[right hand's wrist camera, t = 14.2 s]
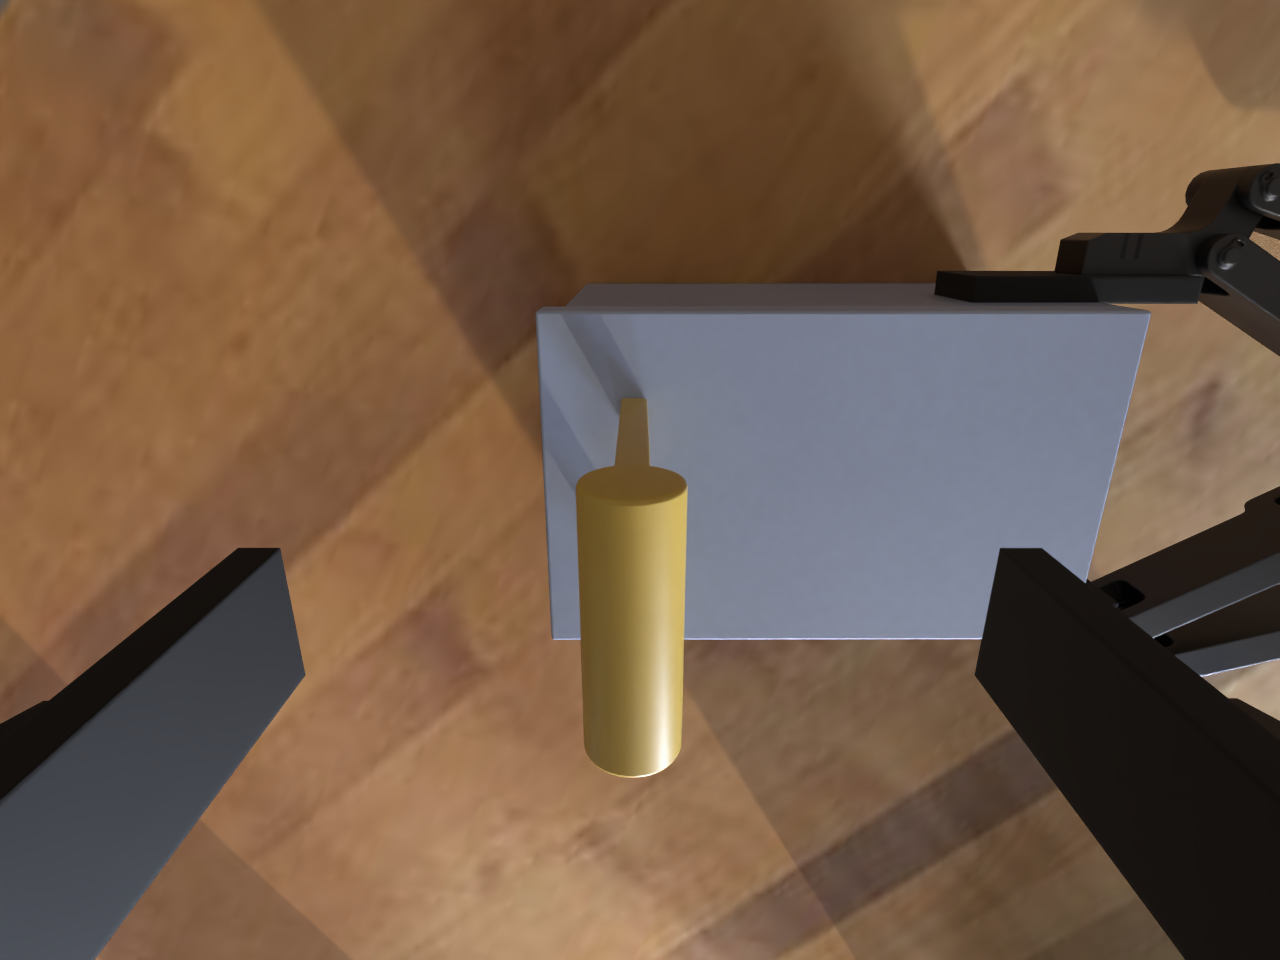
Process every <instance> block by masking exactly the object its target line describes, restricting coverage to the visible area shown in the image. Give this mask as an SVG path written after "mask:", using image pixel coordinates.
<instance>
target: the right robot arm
mask: <svg viewBox="0 0 1280 960" xmlns="http://www.w3.org/2000/svg"><path fill="white" fill-rule="evenodd" d="M304 676H305V671H304V666H303V661H302V656H301V651H300V646H299V641H298V636H297V630H296V625H295V620H294V615H293V610H292V605H291V600H290V595H289V590H288V585H287V580H286V575H285V570H284V565H283V560H282V555H281V550H280V548H237V549H236V550H235V551H234V552H233V553H231V554H230V555H229V556H228V557H226V558H225V559H224V560H223V561H221V562H220V563H219V564H218V565H216V566H215V567H214V568H213V569H211V570H210V571H209V572H208V573H207V574H205V575H204V576H203V577H202V578H200V579H199V580H198V581H197V582H195V583H194V584H193V585H192V586H190V587H189V588H188V589H187V590H185V591H184V592H183V593H182V594H181V595H179V596H178V597H177V598H176V599H174V600H173V601H172V602H171V603H169V604H168V605H167V606H166V607H164V608H163V609H162V610H161V611H160V612H158V613H157V614H156V615H155V616H153V617H152V618H151V619H150V620H148V621H147V622H146V623H145V624H143V625H142V626H141V627H140V628H138V629H137V630H136V631H135V632H134V633H132V634H131V635H130V636H129V637H127V638H126V639H125V640H124V641H122V642H121V643H120V644H119V645H117V646H116V647H115V648H114V649H112V650H111V651H110V652H109V653H108V654H106V655H105V656H104V657H103V658H101V659H100V660H99V661H98V662H96V663H95V664H94V665H93V666H91V667H90V668H89V669H88V670H87V671H85V672H84V673H83V674H82V675H80V676H79V677H78V678H77V679H75V680H74V681H73V682H72V683H70V684H69V685H68V686H67V687H65V688H64V689H63V690H62V691H61V692H59V693H58V694H57V695H56V696H54V697H53V698H52V699H51V700H49V701H42V702H41V703H39V704H37V705H35V706H33V707H31V708H29V709H27V710H26V711H24V712H22V713H20V714H18V715H16V716H14V717H12V718H11V719H9V720H7V721H5V722H3V723H1V724H0V960H95V958H96V957H97V956H98V954H99V953H100V952H101V950H102V949H103V948H104V946H105V945H106V944H107V942H108V941H109V940H110V938H111V937H112V936H113V934H114V933H115V931H116V930H117V929H118V927H119V926H120V925H121V923H122V922H123V921H124V919H125V918H126V917H127V915H128V914H129V913H130V911H131V910H132V909H133V907H134V906H135V904H136V903H137V902H138V900H139V899H140V898H141V896H142V895H143V894H144V892H145V891H146V890H147V888H148V887H149V886H150V884H151V883H152V881H153V880H154V879H155V877H156V876H157V875H158V873H159V872H160V871H161V869H162V868H163V867H164V865H165V864H166V863H167V861H168V860H169V859H170V857H171V856H172V854H173V853H174V852H175V850H176V849H177V848H178V846H179V845H180V844H181V842H182V841H183V840H184V838H185V837H186V836H187V834H188V833H189V832H190V830H191V829H192V827H193V826H194V825H195V823H196V822H197V821H198V819H199V818H200V817H201V815H202V814H203V813H204V811H205V810H206V809H207V807H208V806H209V805H210V803H211V802H212V800H213V799H214V798H215V796H216V795H217V794H218V792H219V791H220V790H221V788H222V787H223V786H224V784H225V783H226V782H227V780H228V779H229V778H230V776H231V775H232V773H233V772H234V771H235V769H236V768H237V767H238V765H239V764H240V763H241V761H242V760H243V759H244V757H245V756H246V755H247V753H248V752H249V751H250V749H251V748H252V746H253V745H254V744H255V742H256V741H257V740H258V738H259V737H260V736H261V734H262V733H263V732H264V730H265V729H266V728H267V726H268V725H269V724H270V722H271V721H272V719H273V718H274V717H275V715H276V714H277V713H278V711H279V710H280V709H281V707H282V706H283V705H284V703H285V702H286V701H287V699H288V698H289V696H290V695H291V694H292V692H293V691H294V690H295V688H296V687H297V686H298V684H299V683H300V682H301V680H302V679H303V678H304ZM975 676H976V678H977V679H978V680H979V682H980V683H981V684H982V686H983V687H984V688H985V690H986V691H987V692H988V694H989V695H990V696H991V698H992V699H993V701H994V702H995V703H996V705H997V706H998V707H999V709H1000V710H1001V711H1002V713H1003V714H1004V715H1005V717H1006V718H1007V719H1008V721H1009V722H1010V724H1011V725H1012V726H1013V728H1014V729H1015V730H1016V732H1017V733H1018V734H1019V736H1020V737H1021V738H1022V740H1023V741H1024V742H1025V744H1026V745H1027V746H1028V748H1029V749H1030V751H1031V752H1032V753H1033V755H1034V756H1035V757H1036V759H1037V760H1038V761H1039V763H1040V764H1041V765H1042V767H1043V768H1044V769H1045V771H1046V772H1047V773H1048V775H1049V776H1050V778H1051V779H1052V780H1053V782H1054V783H1055V784H1056V786H1057V787H1058V788H1059V790H1060V791H1061V792H1062V794H1063V795H1064V796H1065V798H1066V799H1067V800H1068V802H1069V803H1070V805H1071V806H1072V807H1073V809H1074V810H1075V811H1076V813H1077V814H1078V815H1079V817H1080V818H1081V819H1082V821H1083V822H1084V823H1085V825H1086V826H1087V827H1088V829H1089V830H1090V832H1091V833H1092V834H1093V836H1094V837H1095V838H1096V840H1097V841H1098V842H1099V844H1100V845H1101V846H1102V848H1103V849H1104V850H1105V852H1106V853H1107V854H1108V856H1109V857H1110V859H1111V860H1112V861H1113V863H1114V864H1115V865H1116V867H1117V868H1118V869H1119V871H1120V872H1121V873H1122V875H1123V876H1124V877H1125V879H1126V880H1127V881H1128V883H1129V884H1130V886H1131V887H1132V888H1133V890H1134V891H1135V892H1136V894H1137V895H1138V896H1139V898H1140V899H1141V900H1142V902H1143V903H1144V904H1145V906H1146V907H1147V909H1148V910H1149V911H1150V913H1151V914H1152V915H1153V917H1154V918H1155V919H1156V921H1157V922H1158V923H1159V925H1160V926H1161V927H1162V929H1163V930H1164V931H1165V933H1166V934H1167V936H1168V937H1169V938H1170V940H1171V941H1172V942H1173V944H1174V945H1175V946H1176V948H1177V949H1178V950H1179V952H1180V953H1181V954H1182V956H1183V957H1184V958H1185V960H1280V721H1279V720H1277V719H1275V718H1273V717H1271V716H1269V715H1267V714H1266V713H1264V712H1262V711H1260V710H1258V709H1256V708H1254V707H1252V706H1251V705H1249V704H1247V703H1245V702H1243V701H1241V700H1239V699H1237V698H1227V697H1226V696H1224V695H1223V694H1222V693H1221V692H1219V691H1218V690H1217V689H1216V688H1215V687H1213V686H1212V685H1211V684H1210V683H1208V682H1207V681H1206V680H1205V679H1203V678H1202V677H1201V676H1200V675H1198V674H1197V673H1196V672H1195V671H1193V670H1192V669H1191V668H1190V667H1189V666H1187V665H1186V664H1185V663H1184V662H1182V661H1181V660H1180V659H1179V658H1177V657H1176V656H1175V655H1174V654H1172V653H1171V652H1170V651H1169V650H1168V649H1166V648H1165V647H1164V646H1163V645H1161V644H1160V643H1159V642H1158V641H1156V640H1155V639H1154V638H1153V637H1151V636H1150V635H1149V634H1148V633H1146V632H1145V631H1144V630H1143V629H1142V628H1140V627H1139V626H1138V625H1137V624H1135V623H1134V622H1133V621H1132V620H1130V619H1129V618H1128V617H1127V616H1125V615H1124V614H1123V613H1122V612H1120V611H1119V610H1118V609H1117V608H1116V607H1114V606H1113V605H1112V604H1111V603H1109V602H1108V601H1107V600H1106V599H1104V598H1103V597H1102V596H1101V595H1099V594H1098V593H1097V592H1096V591H1095V590H1093V589H1092V588H1091V587H1090V586H1088V585H1087V584H1086V583H1085V582H1083V581H1082V580H1081V579H1080V578H1078V577H1077V576H1076V575H1075V574H1073V573H1072V572H1071V571H1070V570H1069V569H1067V568H1066V567H1065V566H1064V565H1062V564H1061V563H1060V562H1059V561H1057V560H1056V559H1055V558H1054V557H1052V556H1051V555H1050V554H1049V553H1047V552H1046V551H1045V550H1044V549H1043V548H1000V550H999V555H998V560H997V565H996V570H995V575H994V580H993V585H992V590H991V595H990V600H989V605H988V610H987V615H986V620H985V625H984V630H983V636H982V641H981V646H980V651H979V656H978V661H977V666H976V671H975Z"/></svg>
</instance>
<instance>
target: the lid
mask: <svg viewBox="0 0 1280 960" xmlns="http://www.w3.org/2000/svg"><path fill="white" fill-rule="evenodd" d="M1150 316H1151V312H1150V311H1148V310H1142V309H1135V308H1129V307H1123V306H714V307H542V308H541V309H539V310H538V311H537V312H536V334H537V354H538V374H539V394H540V414H541V434H542V454H543V474H544V494H545V514H546V534H547V554H548V574H549V594H550V614H551V634H552V638H553V639H554V640H581V664H582V694H583V724H584V746H585V750H586V753H587V755H588V756H589V758H590V760H591V761H592V762H593V763H594V764H595V765H596V766H597V767H598V768H600V769H601V770H603V771H605V772H607V773H610V774H612V775H616V776H620V777H629V778H636V777H645V776H649V775H652V774H655V773H658V772H660V771H662V770H664V769H665V768H667V767H668V766H669V765H670V764H671V763H672V762H673V761H674V760H675V758H676V757H677V755H678V753H679V751H680V749H681V739H682V698H683V657H684V639H982V636H983V630H984V625H985V620H986V615H987V610H988V605H989V600H990V595H991V590H992V585H993V580H994V575H995V570H996V565H997V560H998V555H999V550H1000V548H1043V549H1044V550H1045V551H1046V552H1047V553H1049V554H1050V555H1051V556H1052V557H1054V558H1055V559H1056V560H1057V561H1059V562H1060V563H1061V564H1062V565H1064V566H1065V567H1066V568H1067V569H1069V570H1070V571H1071V572H1072V573H1073V574H1075V575H1076V576H1077V577H1078V578H1080V579H1081V580H1082V581H1083V582H1085V583H1086V579H1087V575H1088V571H1089V567H1090V563H1091V559H1092V555H1093V551H1094V546H1095V542H1096V538H1097V534H1098V530H1099V526H1100V522H1101V518H1102V514H1103V509H1104V505H1105V501H1106V497H1107V493H1108V489H1109V485H1110V481H1111V476H1112V472H1113V468H1114V464H1115V460H1116V456H1117V452H1118V448H1119V443H1120V439H1121V435H1122V431H1123V427H1124V423H1125V419H1126V415H1127V411H1128V406H1129V402H1130V398H1131V394H1132V390H1133V386H1134V382H1135V378H1136V373H1137V369H1138V365H1139V361H1140V357H1141V353H1142V349H1143V345H1144V340H1145V336H1146V332H1147V328H1148V324H1149V320H1150Z"/></svg>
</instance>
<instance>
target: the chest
mask: <svg viewBox="0 0 1280 960" xmlns="http://www.w3.org/2000/svg"><path fill="white" fill-rule="evenodd" d="M935 285H936V283H588V284H586V285H585V286H584V287H583V288H582V289H581V290H580V291H579V292H578V293H577V294H576V295H575V296H574V297H573V298H572V299H571V300H570V301H569V302H568V304H567V305H566V306H565V307H714V306H1117V305H1111V304H1104V303H971V302H966V301H962V300H957V299H953V298H948V297H943V296H939V295H934V292H935Z"/></svg>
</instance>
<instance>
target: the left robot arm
mask: <svg viewBox="0 0 1280 960" xmlns="http://www.w3.org/2000/svg"><path fill="white" fill-rule="evenodd" d="M1185 196H1186V203H1187V205H1188V207H1187V209H1186V210H1185V212H1184V214H1183V215H1182V217H1181V218H1180V220H1179V221H1178V222H1177V223H1176V224H1175V225H1174V226H1172V227H1171V228H1169V229H1167V230H1165V231H1162V232H1158V233H1077V234H1074V235H1072V236H1069V237H1067V238H1064V239H1061V241H1060V246H1059V251H1058V256H1057V261H1056V266H1055V271H937V277H936V285H935V292H934V295H939V296H943V297H948V298H953V299H957V300H962V301H966V302H971V303H1119V304H1197V303H1198V300H1199V301H1200V302H1201V303H1203V304H1204V305H1206V306H1207V307H1209V308H1210V309H1212V310H1213V311H1215V312H1216V313H1217V314H1219V315H1220V316H1222V317H1223V318H1225V319H1226V320H1228V321H1229V322H1231V323H1232V324H1233V325H1235V326H1236V327H1238V328H1239V329H1241V330H1242V331H1244V332H1245V333H1246V334H1248V335H1249V336H1251V337H1252V338H1254V339H1255V340H1257V341H1258V342H1260V343H1261V344H1262V345H1264V346H1265V347H1267V348H1268V349H1270V350H1271V351H1273V352H1274V353H1276V354H1277V355H1278V356H1280V261H1279V260H1277V259H1276V258H1275V257H1273V256H1272V255H1271V254H1269V253H1268V252H1266V251H1265V250H1264V249H1262V248H1261V247H1259V246H1258V245H1257V244H1255V243H1254V242H1253V241H1251V240H1250V239H1249V237H1250V236H1251V234H1252V232H1253V231H1254V232H1257V233H1261V234H1264V235H1267V236H1270V237H1273V238H1276V239H1279V240H1280V164H1278V163H1276V164H1266V165H1257V166H1247V167H1238V168H1228V169H1219V170H1209V171H1206V172H1203V173H1200V174H1199V175H1197V176H1196V177H1195V178H1193V180H1192V181H1191V183H1190V184H1189V185H1188V188H1187V191H1186V194H1185ZM1244 507H1245V512H1244V513H1242V514H1240V515H1238V516H1236V517H1234V518H1232V519H1229V520H1227V521H1225V522H1223V523H1221V524H1218V525H1216V526H1214V527H1212V528H1209V529H1207V530H1205V531H1203V532H1201V533H1198V534H1196V535H1194V536H1192V537H1190V538H1187V539H1185V540H1183V541H1181V542H1178V543H1176V544H1174V545H1172V546H1170V547H1167V548H1165V549H1163V550H1161V551H1159V552H1156V553H1154V554H1152V555H1150V556H1147V557H1145V558H1143V559H1141V560H1139V561H1136V562H1134V563H1132V564H1130V565H1128V566H1125V567H1123V568H1121V569H1119V570H1116V571H1114V572H1112V573H1110V574H1108V575H1105V576H1103V577H1101V578H1099V579H1097V580H1094V581H1092V582H1090V581H1089V580H1088V579H1086V584H1087V585H1088V586H1090V587H1091V588H1092V589H1093V590H1095V591H1096V592H1097V593H1098V594H1099V595H1101V596H1102V597H1103V598H1104V599H1106V600H1107V601H1108V602H1109V603H1111V604H1112V605H1113V606H1114V607H1116V608H1117V609H1118V610H1119V611H1120V612H1122V613H1123V614H1124V615H1125V616H1127V617H1128V618H1129V619H1130V620H1132V621H1133V622H1134V623H1135V624H1137V625H1138V626H1139V627H1140V628H1142V629H1143V630H1144V631H1145V632H1146V633H1148V634H1149V635H1150V636H1151V637H1153V638H1154V639H1155V640H1156V641H1158V642H1159V643H1160V644H1161V645H1163V646H1164V647H1165V648H1166V649H1168V650H1169V651H1170V652H1171V653H1172V654H1174V655H1175V656H1176V657H1177V658H1179V659H1180V660H1181V661H1182V662H1184V663H1185V664H1186V665H1187V666H1189V667H1190V668H1191V669H1192V670H1193V671H1195V672H1196V673H1197V674H1198V675H1200V676H1201V677H1202V676H1207V675H1211V674H1216V673H1220V672H1225V671H1229V670H1234V669H1238V668H1242V667H1247V666H1251V665H1256V664H1260V663H1265V662H1269V661H1274V660H1278V659H1280V486H1279V487H1277V488H1275V489H1273V490H1271V491H1268V492H1266V493H1264V494H1262V495H1260V496H1257V497H1255V498H1253V499H1251V500H1249V501H1248V502H1246V504H1245V505H1244Z"/></svg>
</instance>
